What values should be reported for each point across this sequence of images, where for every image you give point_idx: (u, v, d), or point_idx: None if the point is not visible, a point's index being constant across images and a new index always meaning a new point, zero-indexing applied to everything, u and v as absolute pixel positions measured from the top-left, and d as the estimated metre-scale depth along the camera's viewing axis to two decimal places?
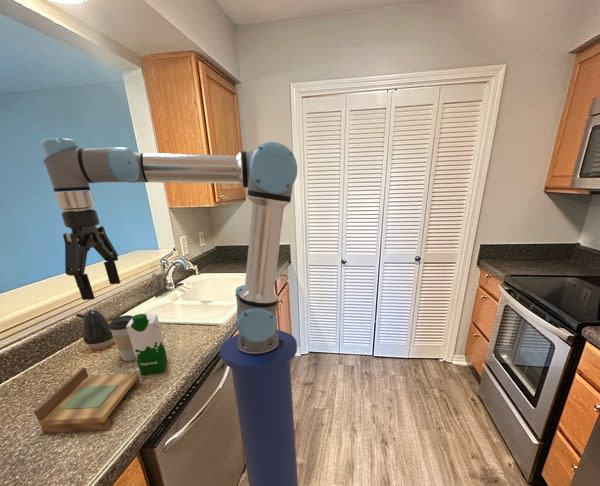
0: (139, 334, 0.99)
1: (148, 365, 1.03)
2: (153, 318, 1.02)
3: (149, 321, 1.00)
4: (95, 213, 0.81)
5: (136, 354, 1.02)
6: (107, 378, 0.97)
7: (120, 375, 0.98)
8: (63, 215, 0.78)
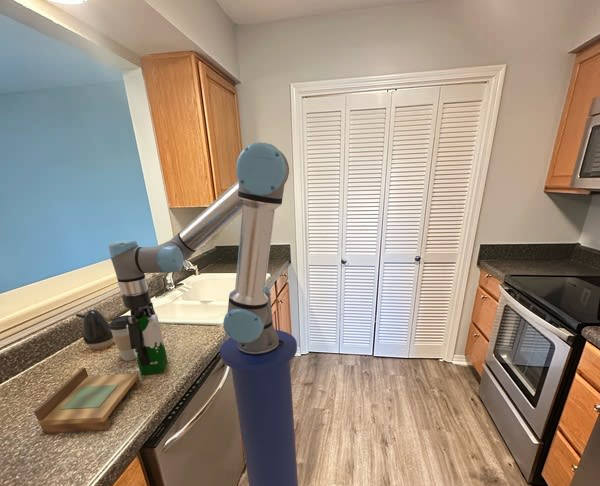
0: None
1: (148, 365, 1.03)
2: (153, 318, 1.02)
3: (149, 321, 1.00)
4: (148, 294, 0.99)
5: (136, 354, 1.02)
6: (107, 378, 0.97)
7: (120, 375, 0.98)
8: (124, 299, 0.95)
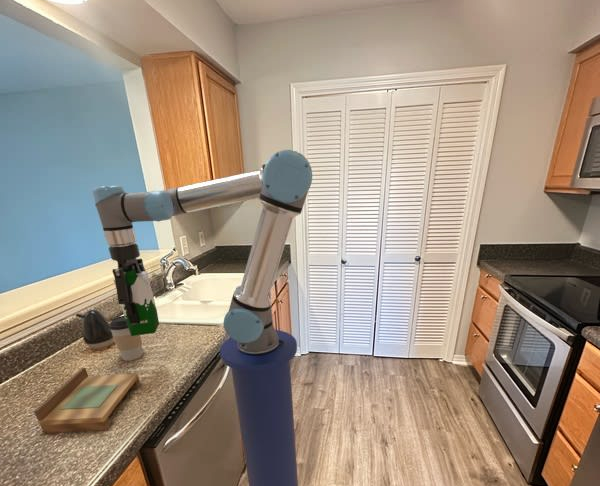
0: None
1: (138, 324, 0.97)
2: (142, 274, 0.96)
3: (138, 276, 0.94)
4: (137, 247, 0.93)
5: (125, 312, 0.96)
6: (107, 378, 0.97)
7: (120, 375, 0.98)
8: (110, 250, 0.90)
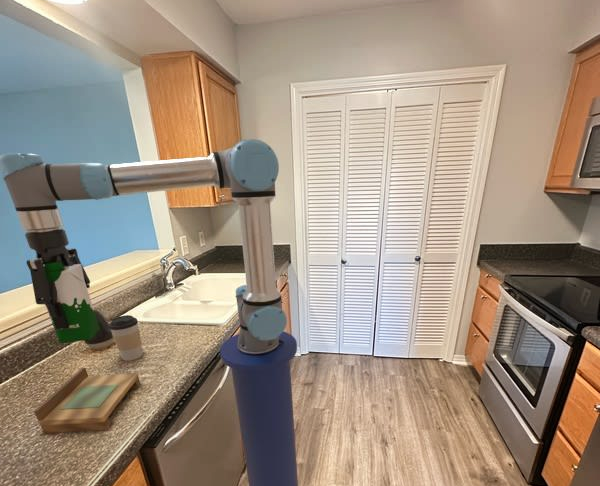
0: None
1: (67, 330, 0.79)
2: (72, 267, 0.78)
3: (65, 269, 0.76)
4: (63, 233, 0.74)
5: None
6: (107, 378, 0.97)
7: (120, 375, 0.98)
8: (26, 236, 0.71)
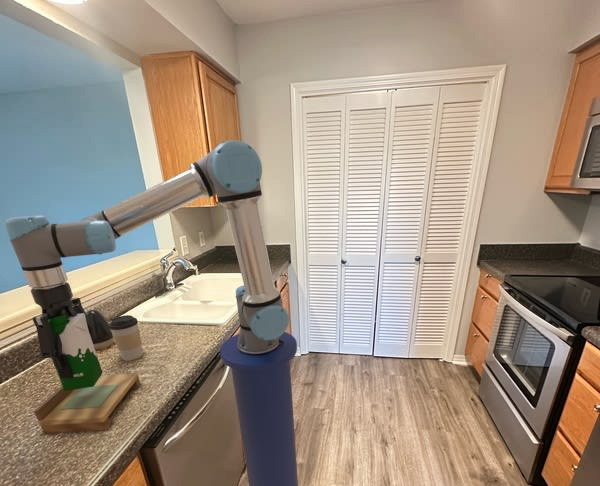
0: None
1: (71, 378, 0.81)
2: (76, 318, 0.80)
3: (69, 322, 0.78)
4: (67, 288, 0.77)
5: None
6: (107, 378, 0.97)
7: (120, 375, 0.98)
8: (32, 293, 0.73)
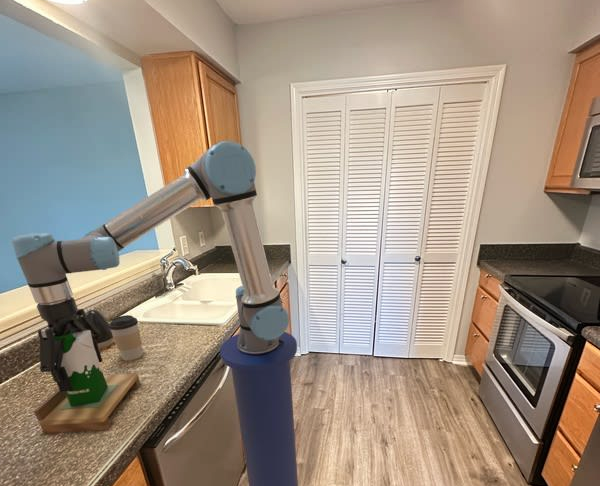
0: None
1: (78, 394, 0.83)
2: (82, 336, 0.82)
3: (76, 340, 0.80)
4: (73, 302, 0.78)
5: None
6: (107, 378, 0.97)
7: (120, 375, 0.98)
8: (38, 309, 0.75)
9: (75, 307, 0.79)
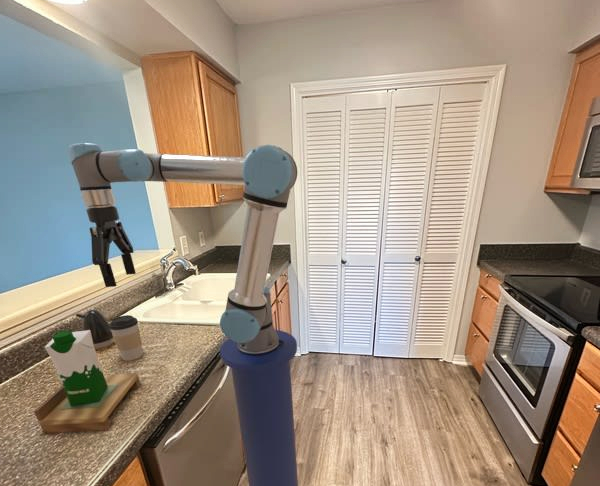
0: (62, 356, 0.79)
1: (78, 394, 0.83)
2: (82, 335, 0.82)
3: (76, 340, 0.80)
4: (116, 209, 0.91)
5: (61, 380, 0.82)
6: (107, 378, 0.97)
7: (120, 375, 0.98)
8: (88, 211, 0.88)
9: (117, 214, 0.92)
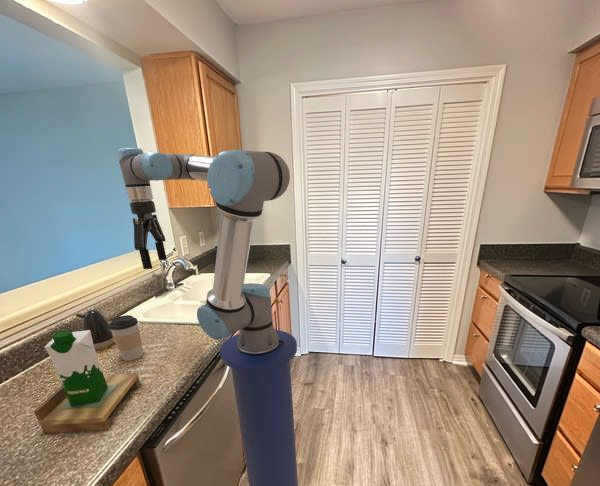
0: (62, 356, 0.79)
1: (78, 394, 0.83)
2: (82, 335, 0.82)
3: (76, 340, 0.80)
4: (153, 203, 1.08)
5: (61, 380, 0.82)
6: (107, 378, 0.97)
7: (120, 375, 0.98)
8: (131, 205, 1.05)
9: None
